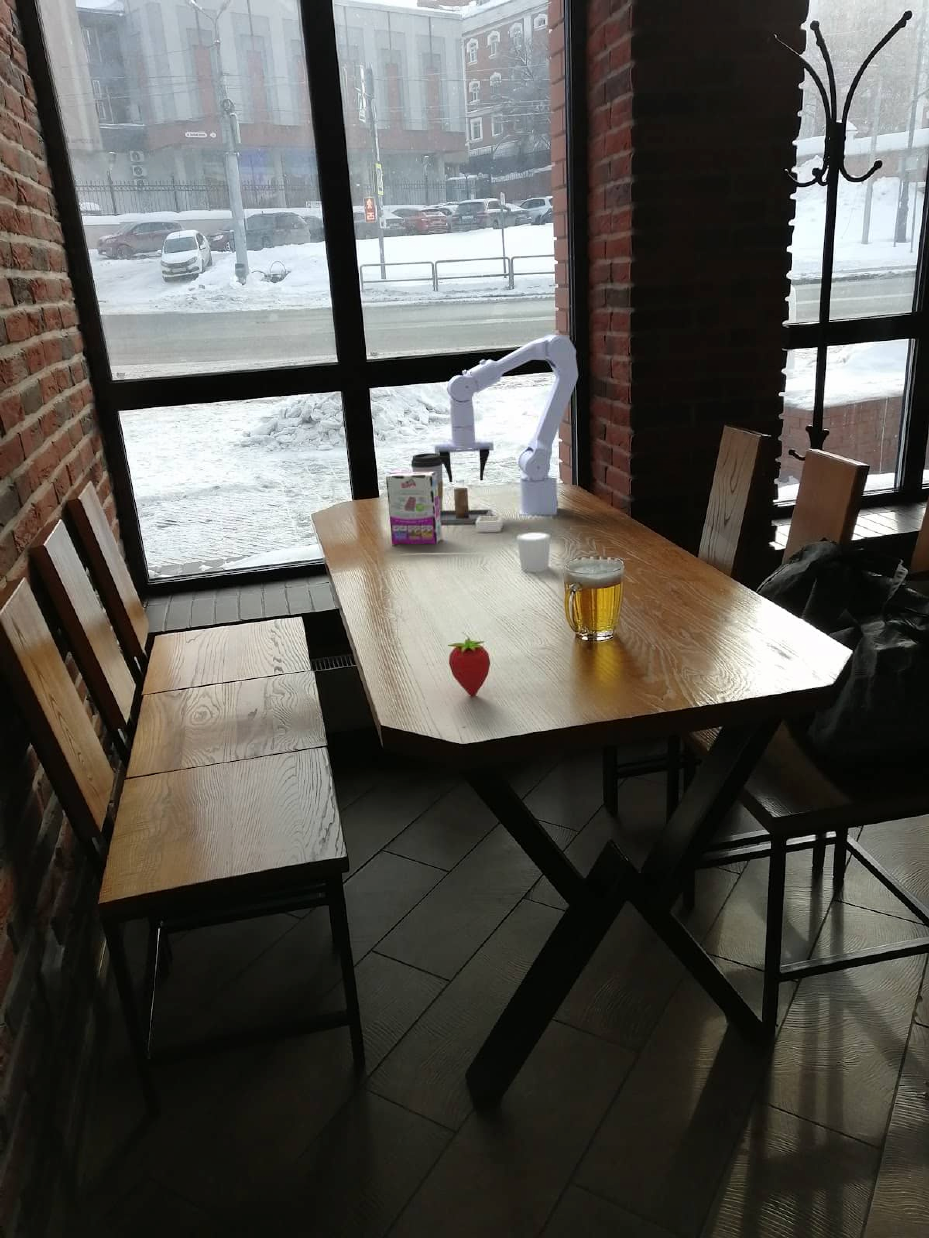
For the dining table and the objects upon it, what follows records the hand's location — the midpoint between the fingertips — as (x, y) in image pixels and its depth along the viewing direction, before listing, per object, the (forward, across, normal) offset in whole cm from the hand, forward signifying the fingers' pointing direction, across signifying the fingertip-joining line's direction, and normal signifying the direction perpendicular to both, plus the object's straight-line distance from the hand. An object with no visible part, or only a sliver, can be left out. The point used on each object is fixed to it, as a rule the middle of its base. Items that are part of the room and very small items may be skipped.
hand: (466, 480), depth 234 cm
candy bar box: (+10, -12, -21) cm, 26 cm away
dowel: (+9, -2, -2) cm, 10 cm away
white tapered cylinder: (+10, +14, -46) cm, 49 cm away
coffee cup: (+10, -10, +9) cm, 17 cm away
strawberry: (+10, +1, -108) cm, 108 cm away
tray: (+10, -2, -2) cm, 10 cm away
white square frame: (+10, +5, -13) cm, 17 cm away
